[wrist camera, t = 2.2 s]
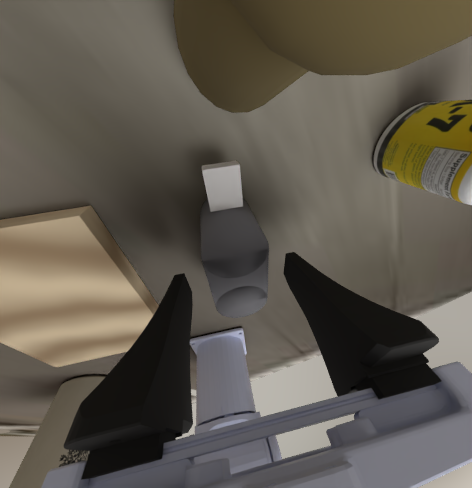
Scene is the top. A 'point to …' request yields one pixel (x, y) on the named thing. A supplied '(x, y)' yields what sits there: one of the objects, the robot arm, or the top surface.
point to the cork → (306, 41)
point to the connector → (232, 244)
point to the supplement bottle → (430, 149)
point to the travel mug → (55, 434)
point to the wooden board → (68, 288)
